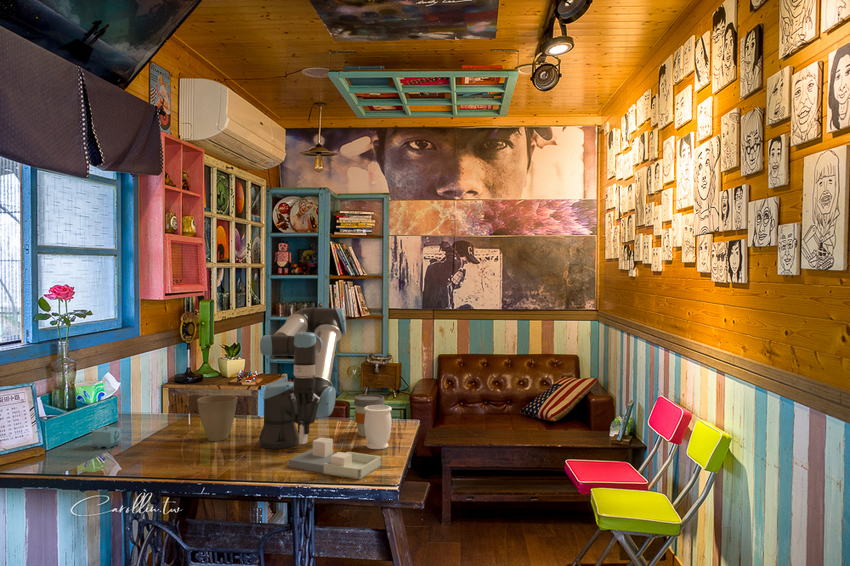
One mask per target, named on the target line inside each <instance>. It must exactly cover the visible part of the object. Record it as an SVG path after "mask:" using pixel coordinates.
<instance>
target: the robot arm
mask: <svg viewBox="0 0 850 566" xmlns="http://www.w3.org/2000/svg"><path fill="white" fill-rule="evenodd" d="M345 313H346V312H345V310H344V309H343V308H338V307H306V308H302V309H300V310H297V311H294V312H293V313H291V315H289V316H288V317H287V318H286V320H285V322H284V324H283V325H282V326H281V327H280V328H279V329H278V330H277V331H276V332H275V333H273V335H271V334H268V335H267V334H266V335H262V336H261V337H260V341H259V351H260V353H261V355H262V356H270V357H282V356H283V357H293V376H294V377H293V381H283V382H276V383H272V384H269V385H267V386H266V387H265V388H264V393H263V425H262V428H261V432H260V433H259V436H258V446H259V447H260V448H263V449H268V450H269V449H270V450H281V449H288V448H292V447H296V446H298V445H299V444H300V445H305V444H307V443H308V436H309V433H310V425H311V424H314V423H315V421H316V418H318V419H319V418H327V417H329V416H331V415H332V413H333V411H334V408H335V405H336V399H337V391H336V387H335V386H334V385H333V383H332V382H331V376H332V372H333V366H334V360H335V355H336V349H337V343H338V341H340V340H341V338H342V336H344V335H346V334H347V322H346V314H345ZM296 424H297V426H296Z"/></svg>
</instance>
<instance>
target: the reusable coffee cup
mask: <svg viewBox="0 0 850 566" xmlns="http://www.w3.org/2000/svg"><path fill="white" fill-rule="evenodd" d="M353 401H354V403H353V405H354V408H355V410H354V419H355V423H356V427H357V434H358V435H359V436H361V437H366V435H365V427H364V420H365V414H366V411H365V407H366V406H370V405H385V396H383V395H381V394H371V393H370V394H367V393H366V394H359V395H356V396H355V397H354V400H353Z"/></svg>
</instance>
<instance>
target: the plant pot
mask: <svg viewBox="0 0 850 566" xmlns="http://www.w3.org/2000/svg"><path fill="white" fill-rule="evenodd" d="M237 403H238V396H236V395H232V394H215V395H206V396H202V397H200V398H197V407H198V414H199V417H200V421H201V425H202V427H203V430H204V431H203V432H204V433H205V436H206V438H207V441H210V442H221V441H225V440H227V439H228V437H229V435H230V433H231V429H232V426H233V423H234V419H235V415H236V409H237Z"/></svg>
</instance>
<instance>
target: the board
mask: <svg viewBox="0 0 850 566" xmlns="http://www.w3.org/2000/svg"><path fill="white" fill-rule="evenodd" d="M338 452H339V451H338ZM338 452H337V451H333V453H332V454H330V455H328V456H326V457H320V456H314V455H313V448H311V449H308V450H307V451H304V452H302V453H300V454H298V455H296V456H294V457H291V458H289V459H288V468H292V469H298V470H303V469H304V471H310V472H315V473H320V474H321V473H322V474H324V463H328V464H331V456H332V455H334V454H336V453H338Z"/></svg>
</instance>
